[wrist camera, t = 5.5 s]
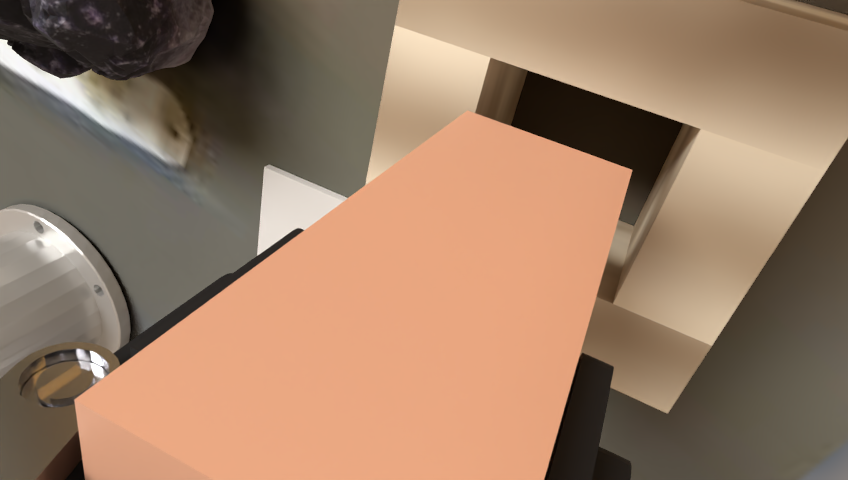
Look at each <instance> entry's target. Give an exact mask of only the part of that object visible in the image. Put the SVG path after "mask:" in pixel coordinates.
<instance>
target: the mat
mask: <svg viewBox="0 0 848 480" xmlns="http://www.w3.org/2000/svg"><path fill="white" fill-rule="evenodd" d="M346 199H348V198H346V197H344V196H342V195H339V194H337V193H335V192H332V191H330V190H328V189H325V188H323V187H321V186H318V185H316V184H314V183H311V182H309V181H307V180H304V179H302V178H300V177H297V176H295V175H293V174H290V173H288V172H286V171H283V170H281V169H279V168H276V167H274V166H272V165H267V166H265V167H264V177H263V190H262V202H261V215H260V228H259V241H258V253H257V256H258V255H259V254H261V253H262V252H263V251H265V250H266V249H268V248H269V247H270V246H272V245H273V244H275V243H276V242H277V241H279V240H280V239H282V238H283V237H284V236H286V235H287V234H289V233H290V232H291V231H293V230H295V229H297V228H301V229H303V230H306V229H307V228H308V227H310V226H311V225H312V224H314V223H315V222H316V221H318V220H319V219H321V218H322V217H323V216H325V215H326V214H327V213H329V212H330V211H331V210H333V209H334V208H335V207H337V206H338V205H340V204H341V203H342V202H344V201H345V200H346Z"/></svg>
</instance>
